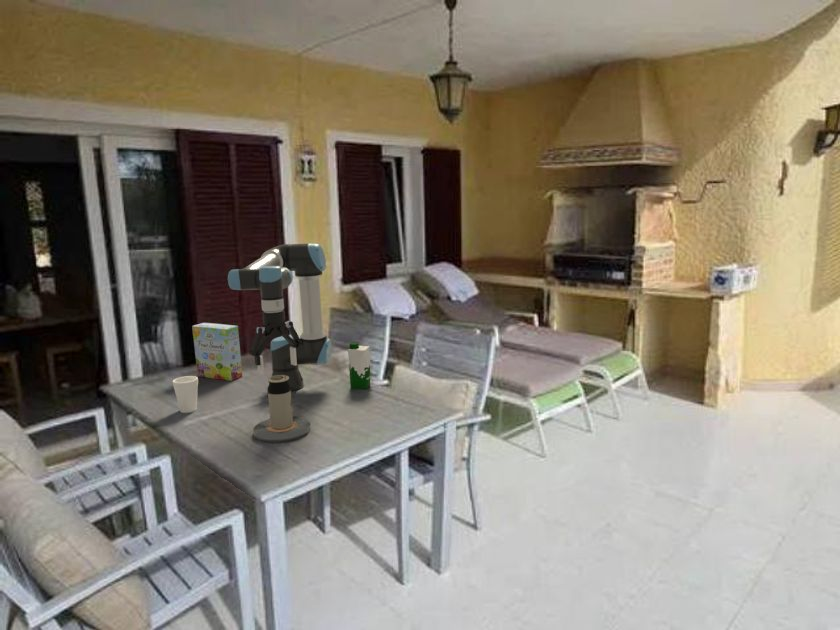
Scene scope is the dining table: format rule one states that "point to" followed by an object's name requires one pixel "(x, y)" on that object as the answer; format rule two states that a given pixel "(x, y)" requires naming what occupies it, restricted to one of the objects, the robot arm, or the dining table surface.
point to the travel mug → (280, 402)
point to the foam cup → (186, 393)
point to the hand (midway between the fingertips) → (277, 369)
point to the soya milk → (359, 366)
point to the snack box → (217, 351)
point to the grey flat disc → (281, 431)
